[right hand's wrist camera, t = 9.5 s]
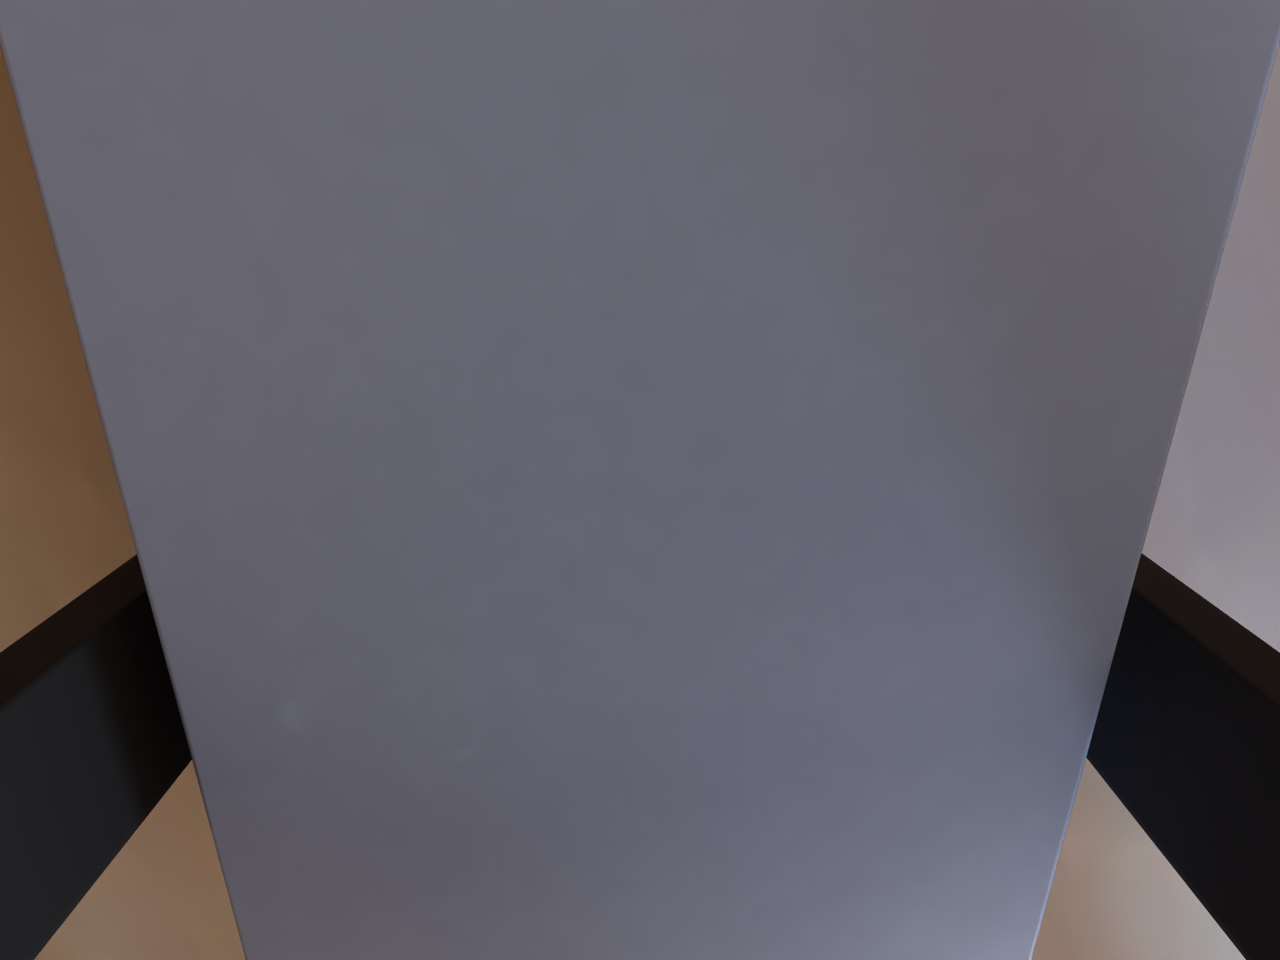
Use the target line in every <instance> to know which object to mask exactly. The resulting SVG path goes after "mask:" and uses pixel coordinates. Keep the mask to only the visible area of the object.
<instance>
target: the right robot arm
mask: <svg viewBox="0 0 1280 960" xmlns="http://www.w3.org/2000/svg"><path fill="white" fill-rule="evenodd" d="M1086 757H1087V759H1088V760H1089V761H1090V763H1091V764H1092V765H1093V766H1094V768H1095V769H1096V770H1097V771H1098V773H1099V774H1100V775H1101V776H1102V778H1103V779H1104V780H1105V782H1106V783H1107V784H1108V785H1109V787H1110V788H1111V789H1112V790H1113V792H1114V793H1115V794H1116V795H1117V797H1118V798H1119V799H1120V801H1121V802H1122V803H1123V804H1124V806H1125V807H1126V808H1127V809H1128V811H1129V812H1130V813H1131V814H1132V816H1133V817H1134V818H1135V820H1136V821H1137V822H1138V823H1139V825H1140V826H1141V827H1142V828H1143V830H1144V831H1145V832H1146V833H1147V835H1148V836H1149V837H1150V839H1151V840H1152V841H1153V842H1154V844H1155V845H1156V846H1157V847H1158V849H1159V850H1160V851H1161V852H1162V854H1163V855H1164V856H1165V858H1166V859H1167V860H1168V861H1169V863H1170V864H1171V865H1172V866H1173V868H1174V869H1175V870H1176V871H1177V873H1178V874H1179V875H1180V877H1181V878H1182V879H1183V880H1184V882H1185V883H1186V884H1187V885H1188V887H1189V888H1190V889H1191V890H1192V892H1193V893H1194V894H1195V896H1196V897H1197V898H1198V899H1199V901H1200V902H1201V903H1202V904H1203V906H1204V907H1205V908H1206V909H1207V911H1208V912H1209V913H1210V915H1211V916H1212V917H1213V918H1214V920H1215V921H1216V922H1217V923H1218V925H1219V926H1220V927H1221V928H1222V930H1223V931H1224V932H1225V934H1226V935H1227V936H1228V937H1229V939H1230V940H1231V941H1232V942H1233V944H1234V945H1235V946H1236V947H1237V949H1238V950H1239V951H1240V953H1241V954H1242V955H1243V956H1244V958H1245V959H1246V960H1280V653H1279V652H1278V651H1277V650H1275V649H1274V648H1272V647H1271V646H1270V645H1268V644H1267V643H1265V642H1264V641H1263V640H1261V639H1260V638H1259V637H1257V636H1256V635H1254V634H1253V633H1252V632H1250V631H1249V630H1247V629H1246V628H1245V627H1243V626H1242V625H1240V624H1239V623H1238V622H1236V621H1235V620H1234V619H1232V618H1231V617H1229V616H1228V615H1227V614H1225V613H1224V612H1222V611H1221V610H1220V609H1218V608H1217V607H1215V606H1214V605H1213V604H1211V603H1210V602H1209V601H1207V600H1206V599H1204V598H1203V597H1202V596H1200V595H1199V594H1197V593H1196V592H1195V591H1193V590H1192V589H1190V588H1189V587H1188V586H1186V585H1185V584H1184V583H1182V582H1181V581H1179V580H1178V579H1177V578H1175V577H1174V576H1172V575H1171V574H1170V573H1168V572H1167V571H1165V570H1164V569H1163V568H1161V567H1160V566H1159V565H1157V564H1156V563H1154V562H1153V561H1152V560H1150V559H1149V558H1147V557H1146V556H1145V555H1143V554H1142V553H1141V556H1140V560H1139V563H1138V567H1137V571H1136V574H1135V578H1134V582H1133V586H1132V589H1131V593H1130V597H1129V600H1128V604H1127V608H1126V611H1125V615H1124V619H1123V623H1122V626H1121V630H1120V634H1119V637H1118V641H1117V645H1116V648H1115V652H1114V656H1113V659H1112V663H1111V667H1110V671H1109V674H1108V678H1107V682H1106V685H1105V689H1104V693H1103V696H1102V700H1101V704H1100V708H1099V711H1098V715H1097V719H1096V722H1095V726H1094V730H1093V733H1092V737H1091V741H1090V745H1089V748H1088V752H1087V756H1086ZM191 760H192V757H191V753H190V749H189V746H188V742H187V738H186V735H185V731H184V727H183V723H182V720H181V716H180V712H179V708H178V705H177V701H176V697H175V693H174V690H173V686H172V682H171V679H170V675H169V671H168V667H167V664H166V660H165V656H164V652H163V649H162V645H161V641H160V638H159V634H158V630H157V626H156V623H155V619H154V615H153V611H152V608H151V604H150V600H149V597H148V593H147V589H146V585H145V582H144V578H143V574H142V570H141V567H140V563H139V559H138V556H137V555H135V556H134V557H133V558H131V559H130V560H128V561H127V562H126V563H124V564H123V565H121V566H120V567H119V568H117V569H116V570H114V571H113V572H112V573H110V574H109V575H108V576H106V577H105V578H103V579H102V580H101V581H99V582H98V583H96V584H95V585H94V586H92V587H91V588H89V589H88V590H87V591H85V592H84V593H83V594H81V595H80V596H78V597H77V598H76V599H74V600H73V601H71V602H70V603H69V604H67V605H66V606H65V607H63V608H62V609H60V610H59V611H58V612H56V613H55V614H53V615H52V616H51V617H49V618H48V619H46V620H45V621H44V622H42V623H41V624H40V625H38V626H37V627H35V628H34V629H33V630H31V631H30V632H28V633H27V634H26V635H24V636H23V637H21V638H20V639H19V640H17V641H16V642H15V643H13V644H12V645H10V646H9V647H8V648H6V649H5V650H3V651H2V652H1V653H0V960H34V959H35V958H36V956H37V955H38V954H39V952H40V951H41V950H42V949H43V947H44V946H45V945H46V944H47V942H48V941H49V940H50V939H51V937H52V936H53V935H54V933H55V932H56V931H57V930H58V928H59V927H60V926H61V925H62V923H63V922H64V921H65V920H66V918H67V917H68V916H69V914H70V913H71V912H72V911H73V909H74V908H75V907H76V906H77V904H78V903H79V902H80V901H81V899H82V898H83V897H84V895H85V894H86V893H87V892H88V890H89V889H90V888H91V887H92V885H93V884H94V883H95V882H96V880H97V879H98V878H99V877H100V875H101V874H102V873H103V871H104V870H105V869H106V868H107V866H108V865H109V864H110V863H111V861H112V860H113V859H114V858H115V856H116V855H117V854H118V852H119V851H120V850H121V849H122V847H123V846H124V845H125V844H126V842H127V841H128V840H129V839H130V837H131V836H132V835H133V833H134V832H135V831H136V830H137V828H138V827H139V826H140V825H141V823H142V822H143V821H144V820H145V818H146V817H147V816H148V814H149V813H150V812H151V811H152V809H153V808H154V807H155V806H156V804H157V803H158V802H159V801H160V799H161V798H162V797H163V795H164V794H165V793H166V792H167V790H168V789H169V788H170V787H171V785H172V784H173V783H174V782H175V780H176V779H177V778H178V776H179V775H180V774H181V773H182V771H183V770H184V769H185V768H186V766H187V765H188V764H189V763H190V761H191Z"/></svg>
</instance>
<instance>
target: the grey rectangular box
mask: <svg viewBox="0 0 1280 960" xmlns="http://www.w3.org/2000/svg"><path fill="white" fill-rule="evenodd" d="M1279 42H1280V0H0V45H1V48H2V52H3V56H4V60H5V63H6V67H7V71H8V74H9V78H10V82H11V86H12V89H13V93H14V97H15V101H16V104H17V108H18V112H19V116H20V119H21V123H22V127H23V130H24V134H25V138H26V142H27V145H28V149H29V153H30V157H31V160H32V164H33V168H34V171H35V175H36V179H37V183H38V186H39V190H40V194H41V198H42V201H43V205H44V209H45V212H46V216H47V220H48V224H49V227H50V231H51V235H52V239H53V242H54V246H55V250H56V253H57V257H58V261H59V265H60V268H61V272H62V276H63V280H64V283H65V287H66V291H67V295H68V298H69V302H70V306H71V309H72V313H73V317H74V321H75V324H76V328H77V332H78V336H79V339H80V343H81V347H82V350H83V354H84V358H85V362H86V365H87V369H88V373H89V377H90V380H91V384H92V388H93V391H94V395H95V399H96V403H97V406H98V410H99V414H100V418H101V421H102V425H103V429H104V432H105V436H106V440H107V444H108V447H109V451H110V455H111V459H112V462H113V466H114V470H115V473H116V477H117V481H118V485H119V488H120V492H121V496H122V500H123V503H124V507H125V511H126V515H127V518H128V522H129V526H130V529H131V533H132V537H133V541H134V544H135V548H136V552H137V556H138V559H139V563H140V567H141V570H142V574H143V578H144V582H145V585H146V589H147V593H148V597H149V600H150V604H151V608H152V611H153V615H154V619H155V623H156V626H157V630H158V634H159V638H160V641H161V645H162V649H163V652H164V656H165V660H166V664H167V667H168V671H169V675H170V679H171V682H172V686H173V690H174V693H175V697H176V701H177V705H178V708H179V712H180V716H181V720H182V723H183V727H184V731H185V735H186V738H187V742H188V746H189V749H190V753H191V757H192V761H193V764H194V768H195V772H196V776H197V779H198V783H199V787H200V790H201V794H202V798H203V802H204V805H205V809H206V813H207V817H208V820H209V824H210V828H211V831H212V835H213V839H214V843H215V846H216V850H217V854H218V858H219V861H220V865H221V869H222V872H223V876H224V880H225V884H226V887H227V891H228V895H229V899H230V902H231V906H232V910H233V913H234V917H235V921H236V925H237V928H238V932H239V936H240V940H241V943H242V947H243V951H244V955H245V958H246V960H1031V959H1032V955H1033V952H1034V948H1035V944H1036V941H1037V937H1038V933H1039V929H1040V926H1041V922H1042V918H1043V915H1044V911H1045V907H1046V904H1047V900H1048V896H1049V892H1050V889H1051V885H1052V881H1053V878H1054V874H1055V870H1056V867H1057V863H1058V859H1059V855H1060V852H1061V848H1062V844H1063V841H1064V837H1065V833H1066V830H1067V826H1068V822H1069V818H1070V815H1071V811H1072V807H1073V804H1074V800H1075V796H1076V793H1077V789H1078V785H1079V782H1080V778H1081V774H1082V770H1083V767H1084V763H1085V759H1086V756H1087V752H1088V748H1089V745H1090V741H1091V737H1092V733H1093V730H1094V726H1095V722H1096V719H1097V715H1098V711H1099V708H1100V704H1101V700H1102V696H1103V693H1104V689H1105V685H1106V682H1107V678H1108V674H1109V671H1110V667H1111V663H1112V659H1113V656H1114V652H1115V648H1116V645H1117V641H1118V637H1119V634H1120V630H1121V626H1122V623H1123V619H1124V615H1125V611H1126V608H1127V604H1128V600H1129V597H1130V593H1131V589H1132V586H1133V582H1134V578H1135V574H1136V571H1137V567H1138V563H1139V560H1140V556H1141V552H1142V549H1143V545H1144V541H1145V537H1146V534H1147V530H1148V526H1149V523H1150V519H1151V515H1152V512H1153V508H1154V504H1155V500H1156V497H1157V493H1158V489H1159V486H1160V482H1161V478H1162V475H1163V471H1164V467H1165V464H1166V460H1167V456H1168V452H1169V449H1170V445H1171V441H1172V438H1173V434H1174V430H1175V427H1176V423H1177V419H1178V415H1179V412H1180V408H1181V404H1182V401H1183V397H1184V393H1185V390H1186V386H1187V382H1188V378H1189V375H1190V371H1191V367H1192V364H1193V360H1194V356H1195V353H1196V349H1197V345H1198V342H1199V338H1200V334H1201V330H1202V327H1203V323H1204V319H1205V316H1206V312H1207V308H1208V305H1209V301H1210V297H1211V293H1212V290H1213V286H1214V282H1215V279H1216V275H1217V271H1218V268H1219V264H1220V260H1221V256H1222V253H1223V249H1224V245H1225V242H1226V238H1227V234H1228V231H1229V227H1230V223H1231V219H1232V216H1233V212H1234V208H1235V205H1236V201H1237V197H1238V194H1239V190H1240V186H1241V183H1242V179H1243V175H1244V171H1245V168H1246V164H1247V160H1248V157H1249V153H1250V149H1251V146H1252V142H1253V138H1254V134H1255V131H1256V127H1257V123H1258V120H1259V116H1260V112H1261V109H1262V105H1263V101H1264V97H1265V94H1266V90H1267V86H1268V83H1269V79H1270V75H1271V72H1272V68H1273V64H1274V60H1275V57H1276V53H1277V49H1278V46H1279Z"/></svg>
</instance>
